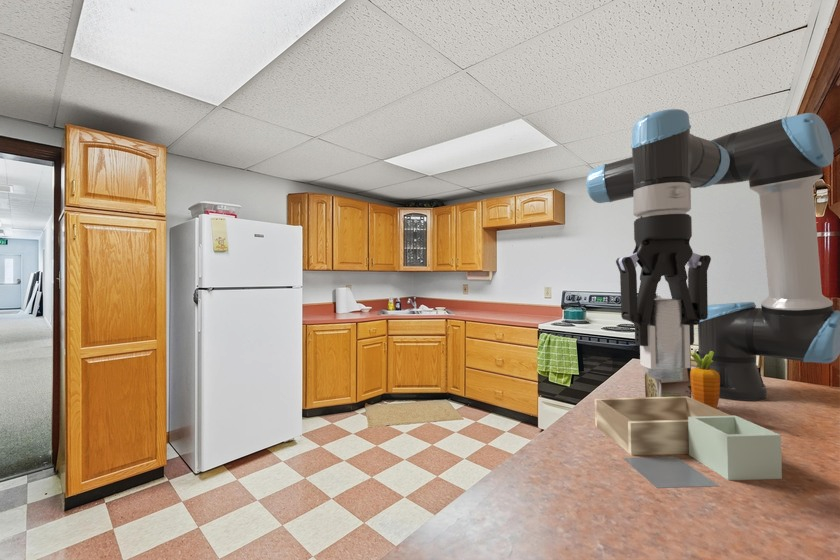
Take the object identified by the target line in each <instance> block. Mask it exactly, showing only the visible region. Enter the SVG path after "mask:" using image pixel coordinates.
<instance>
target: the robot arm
mask: <svg viewBox="0 0 840 560" xmlns="http://www.w3.org/2000/svg"><path fill="white" fill-rule="evenodd" d="M691 129H692V125H691V122H690V117H689V114H688V112H687V111H686V110H684V109H679V108H672V109H664V110H658V111H655V112H652V113H648V114H647V115H645V116H643V117H641V118H640V119H638V120H637V121H636V122H635V123H634V125H633V127H632V137H631V138H632V139H631V146H630V147H631V151H632V152H631V154H632V155H631V157H626V158H623V159H620V160H617V161H613V162H610V163H605V164H604V163H603V165H601V166H597V167H594V168H592V169H591V170H590V172H589V173H588V174H587V177H586V182H585V183H586V184H585V185H586V188H587V194H588V196H589V198H590V199H591V200H592V201H593V202H594V203H598V204H604V203H613V202H616V201H621V200H626V199H631V198H633V216H635V218H637V219H635V220H634V221H633V239H634V242H635V247H634V250H633V251H632V254H629V255H628V256H623V257H622V256H621V257H618V258H617V259H616V260H615V264H616V266H617V268H618V271H619V275H620V276H619V277H620V278H619V280H620V281H619V283H620V310H621V311H620V312H621V313H620V316H621V318H622V320H624V321H627V322H631V323H632V324H633V325H634V342H635V345H637V346H639V354H640V355H639V359H640V366H643V367H644V366H645V367H647V368H650V369H656V351H655V326H653V325H648V324H649V323H650V318H651V313H652V308H653V304H654V299H656V294H657V290H658V289H657V288H658V284H659V283H660V282H661V279H662V277H664V280H665V281H666V282H667V284H668V287H669V293H670V296H671V299H681V306H682V354H683V367H684V368H690V350H691V346H694V343H695V327H694V326H697V336H698V337H697V339H698V340H697V341H698V355H699V356H700V359H701V362H702V359H704V357H705V356H706V354H707V355H709V352H710V351H713V352H714V355H713V358H712V360H713V362H712V364H711V365H710V366H709V367H708V368H711V369H713V370H715V371H717V372H718V373H719V375H720V395H719V398H721V399H728V400H737V401H738V400H739V401H759V400H764V399H766V398H767V386H766V385H765V384H764V380H763V378H762V375H761V373H760V370H759V367H758V365H757V356H759V357H769V358H773V359H774V358H776V359H783V360H790V361H798V362H803V363H818V364H829V363H833V362H834V361H835V360H837V359H838V357H839V355H840V310H837V309H836V310H834V301H833V300H831V299H830V298H828V297H827V296H824V295H823V293H822V292H823V291H822V279H821V278H822V277H821V267H820V266H821V265H820V256H819V255H820V254H819V242H818V230H817V229H818V228H817V217H816V204H815V193H814V191H815V190H814V185H815V183H817V182H818V181H819V180H820V179H821V178H822V177H823V168H826V167H828V166H831V164H833V161H834V160H835V159H834V143H833V140H832V136H831V134H830V130H829V128H828V127H827V124H826V123H825V121H824V119H822V117H821V116H820V115H818V114H816V113H815V112H814V113H813V112H806V113H805V112H804V113H800V114H796V115H792V116H786V117H782V118H781V119H780V118H779V119H776V120H772V121H770V122H766V123H764V124H759V125H756V126H753V127H750V128H746V129H742V130H739V131H735V132H732V133H727V134H725V135H722V136H719V137H717V138H715V139H712V140H710V139H706V138H702V137H699V136H696V135H694V134H693V133H690V132H691ZM743 182H748V185H749V189H750V190H751V191H753V192H755V193H757V194H758V195H759V206H760V215H761V226H762V227H761V229H762V237H763V246H764V247H763V248H764V257H765V267H766V268H765V269H766V277H767V287H768V290H767V291H768V296H767V297H765V299H764V300H762V301H761V303H760V304H761V307H757V304H756V303H755V302H754V301H747V302H746V301H743V302H729V303H728V302H727V303H716V304H709V302H708V269H709V267H710V263H711V261H712V258H711V256H710V255H706V254H704V255H702V254H698V253H695V252H693V248H692V246H691V245H690V240H691V238H692V236H693V228H692V227H693V226H692V223H693V222H692V221H693V220H692V216H691V215H690V214H687V213H688V212H691V210H692V193H691V192H692V191H691V188H692V189H697V188H699V189H702V188H708V187H710V186H714V185H727V184H736V183H743ZM638 265H639V267H640V269H641V270H640V275H639V280H640V284H639V288H638V279H637V271H636V268H637V267H638ZM686 266H688V268H687V269H688V270H686ZM696 364H697V363H696ZM698 367H699V366H698V364H697V365H696V366H695V368H698Z"/></svg>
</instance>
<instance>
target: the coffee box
mask: <svg viewBox="0 0 840 560" xmlns="http://www.w3.org/2000/svg"><path fill="white" fill-rule="evenodd" d="M691 354H692V353H691V349H690V368H684V367H683V379H682V380H678V381H668V380H660V379H655V378H651V377H649V376H648V368H647V367H645V366H643V367H644V389H645V390H644V392H645V397H644V398H646V397H683V396H687V397H690V398H692V392H691V380H690V371H691V370H692V360H691V359H692V357H691Z"/></svg>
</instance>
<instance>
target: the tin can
mask: <svg viewBox="0 0 840 560" xmlns="http://www.w3.org/2000/svg"><path fill="white" fill-rule="evenodd" d="M648 325H653V326H655V351H656V369H650V368H648V376H649V377H651V378H655V379H660V380H668V381H678V380H682V379H683V354H682V306H681V299H672V298H655V299H654V304H653V308H652V313H651V318H650V323H649V324H648Z"/></svg>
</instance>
